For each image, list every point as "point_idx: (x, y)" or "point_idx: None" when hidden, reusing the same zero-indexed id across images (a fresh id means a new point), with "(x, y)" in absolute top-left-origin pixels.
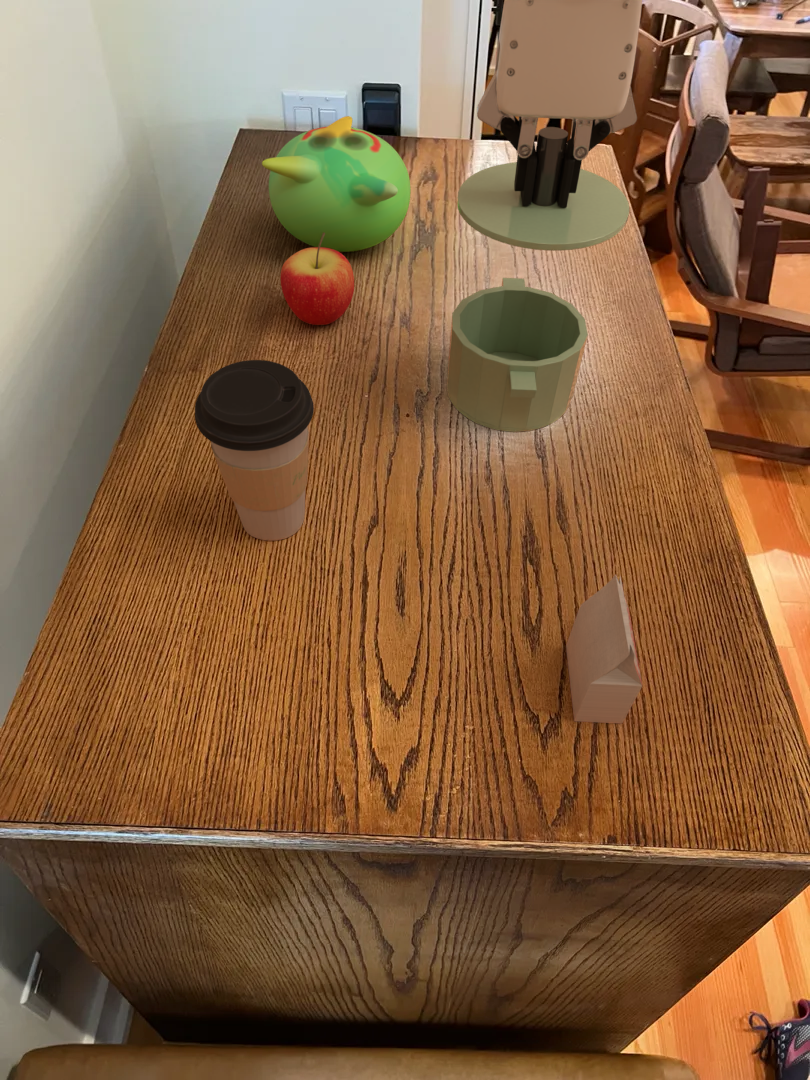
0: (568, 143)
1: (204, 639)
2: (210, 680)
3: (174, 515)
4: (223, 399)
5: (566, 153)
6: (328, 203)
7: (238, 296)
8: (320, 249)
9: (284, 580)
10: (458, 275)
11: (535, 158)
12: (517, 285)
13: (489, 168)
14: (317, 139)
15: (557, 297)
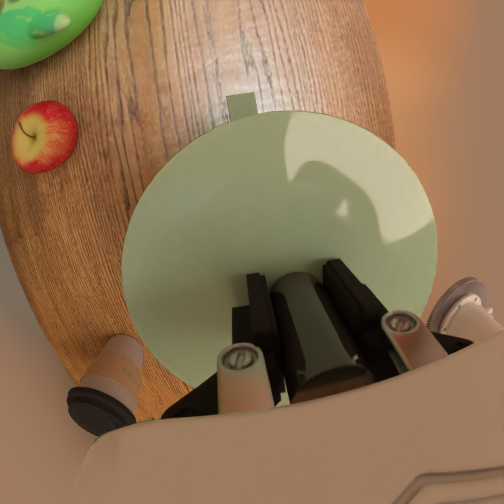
0: (371, 355)
1: (139, 402)
2: (152, 413)
3: (82, 351)
4: (88, 425)
5: (360, 346)
6: (20, 54)
7: (9, 139)
8: (28, 116)
9: (153, 379)
10: (176, 21)
11: (282, 388)
12: (247, 108)
13: (157, 182)
14: None
15: None
